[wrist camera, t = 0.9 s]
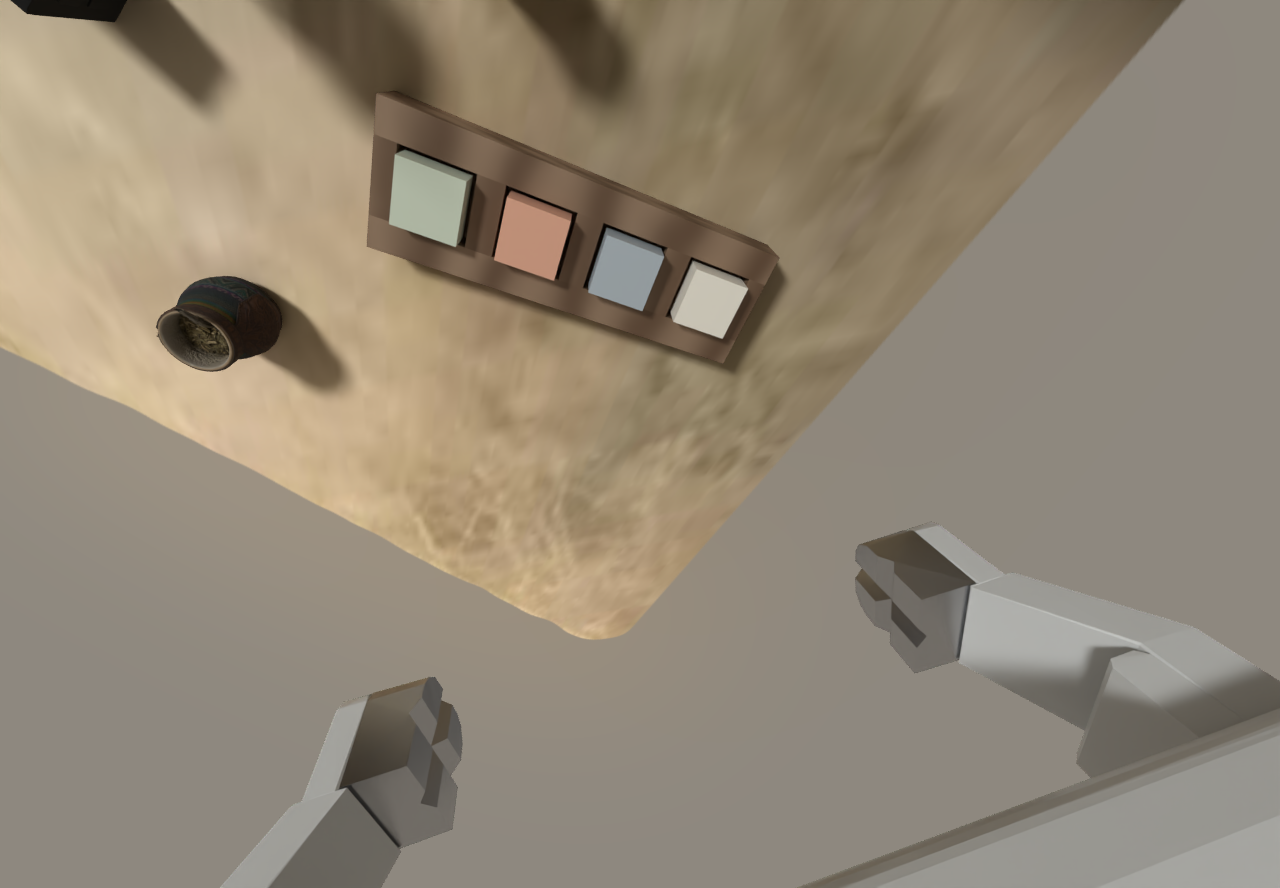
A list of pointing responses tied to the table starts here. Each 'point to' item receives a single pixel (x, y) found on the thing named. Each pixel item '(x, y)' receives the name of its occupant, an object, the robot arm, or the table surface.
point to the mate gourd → (220, 323)
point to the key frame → (592, 211)
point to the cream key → (708, 299)
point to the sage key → (429, 198)
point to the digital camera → (74, 8)
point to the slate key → (625, 269)
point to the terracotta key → (532, 235)
